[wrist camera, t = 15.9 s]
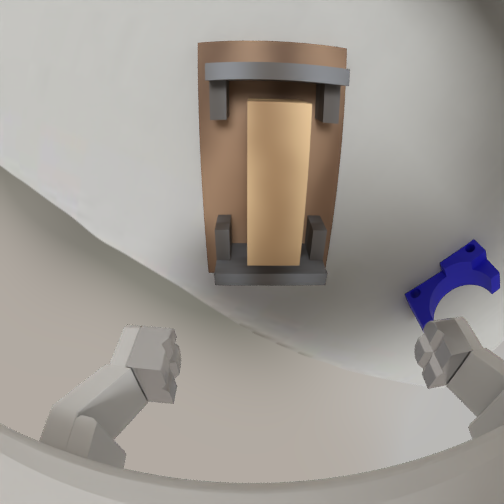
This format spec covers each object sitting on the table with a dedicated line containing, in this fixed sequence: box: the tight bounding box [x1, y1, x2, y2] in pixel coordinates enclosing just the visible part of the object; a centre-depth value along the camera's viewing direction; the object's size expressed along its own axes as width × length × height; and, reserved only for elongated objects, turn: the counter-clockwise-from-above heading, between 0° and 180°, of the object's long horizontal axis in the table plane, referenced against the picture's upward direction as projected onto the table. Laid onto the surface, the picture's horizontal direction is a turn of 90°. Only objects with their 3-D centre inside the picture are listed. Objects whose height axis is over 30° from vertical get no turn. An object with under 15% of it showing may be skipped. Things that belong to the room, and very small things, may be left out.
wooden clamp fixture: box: [198, 41, 350, 285], centre depth 23 cm, size 12×22×6 cm, turn 0°
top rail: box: [247, 98, 312, 266], centre depth 22 cm, size 4×12×6 cm, turn 0°
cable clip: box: [405, 240, 500, 332], centre depth 31 cm, size 12×4×6 cm, turn 126°
